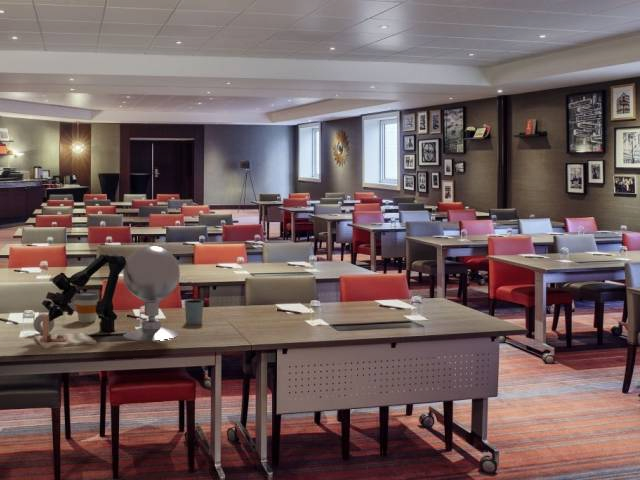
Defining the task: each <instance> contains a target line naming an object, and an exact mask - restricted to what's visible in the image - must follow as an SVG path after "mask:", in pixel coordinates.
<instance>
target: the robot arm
mask: <svg viewBox="0 0 640 480" xmlns="http://www.w3.org/2000/svg"><path fill="white" fill-rule="evenodd" d="M126 261H127V259H126V257H125V256H124V255H118V254H113V255H109V254H104V253H102V254H100V255H99V256H98V257H97V258H96V259H95V260H94V261H92V262H91V263H90V264H89V265H87V267H85V268H84V269H82V270H80V271H78V272H75V273H73V274H71V276H70V277H68V276H67V275H66V273H64V272H60V273H59V274H57V275H56V276H54V277H53V278H52V284H54V285H55V287H57V289H59V290H60V291H61V293H60V292H58V291H57V292H55V293H53V292H49V291H47V293H46V296H45V300H43V301H42V302H41V304H42V306H44V308H45V309H46V310H47V311H48V313H47V314H48V316H49V322H50V321H52V320H54V321H55V319H58V318H60V317H62V316H64V313H65V312H66V313H67V315H68V316H71V317H72V316H73V315H74V312H75V310H74V308H72V307H71V306H70V305H69V304H72V303H73V301H72V300H73V298H74V297H75V296H76V294H79V295H80V294H81V293H80V292H81V288H83V287H85V286H86V285H87V284H88V283H89V281H90V279H91V277H92V276H93V275H94V274H96V273H97V272H98V271H100V269H101V268H102V267H104V266H106V264H108V269H109V274H108V277H107V281H106V285H105V288H104V291H103V292H104V293H103V295H102V299H100V300H98V301H97V305H96V308H95V309H96V313H97V317H98V319H100V321H99V331H100V332H102V333H113V331H114V332H116V330H115V320H117V318H118V315H117V314H116V312H114V302H113V299H114V297H115V292H116V288H117V284H118V280H119V277H120V273H121V272H123V271H124V266H125V263H126ZM78 287H79V288H78Z"/></svg>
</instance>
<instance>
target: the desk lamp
mask: <svg viewBox="0 0 640 480" xmlns="http://www.w3.org/2000/svg"><path fill="white" fill-rule="evenodd" d="M122 272H123V274H122V275H123V281H124V284H125V286H126V288H127V290H128V291H129V292H130V293H131V295H133V296H134V297H136V298H137V299H139V300H141V301H142V302H144V316H145V317H147V319H144V320H142V323H141V324H142V325H141V327H138V328H136V329H133V330H130V331H128V332H126V334H125V333H124V334H123V335H122V336H123V338H125V339H127V340H132V341H138V342H139V341H141V342H151V341H152V342H156V341H155V340H160V341H165V340H164V339H168V340H170V339H169V338H173V339H175V338H174V337H176V336H178V335H179V336H180V333H179V332H177V331H174V330H171V329H168V328H166V327H162V323H161V320H159V319H157V318H156V317H157V316H159V315H160V313H159V311H160V310H159V308H160V307H159V305H160V304H159V303H160V302H161V301H162V300H164V299H165V298H167V297H169V296H170V295H172V293H173V292H174V291H175V290H176V288H177V287H178V284H179V281H180V277H181V276H180V275H181V272H180V266H179V263H178V260H177V259H176V257H175V256H174V255H173V254H172V252H170V251H169V250H167V249H165V248H164V247H161V246H157V245H146V246H142V247H140V248H138V249H136V250H135V251H134V252H132V253H131V254H130V255H129V256H128V258H127V259H126V263H125V266H124V269H123V270H122ZM178 333H179V334H178ZM179 336H178V337H179ZM176 338H177V337H176Z"/></svg>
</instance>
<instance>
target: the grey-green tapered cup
mask: <svg viewBox="0 0 640 480" xmlns="http://www.w3.org/2000/svg"><path fill="white" fill-rule="evenodd" d="M184 309H185V311H184V312H185V323H186V324H187V323H188V324H187V325H201V324H203V312H204V300H202V299H188V300H187V299H186V300H184Z"/></svg>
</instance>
